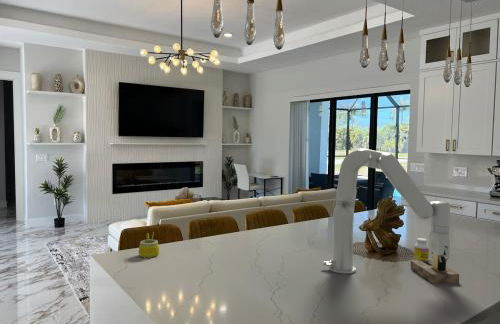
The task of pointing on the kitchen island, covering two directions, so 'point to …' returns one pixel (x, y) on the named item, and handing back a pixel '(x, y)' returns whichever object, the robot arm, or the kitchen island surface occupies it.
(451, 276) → the socket block
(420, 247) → the supplement bottle
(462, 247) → the kitchen island surface
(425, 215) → the robot arm
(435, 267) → the peg
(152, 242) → the yellow pot
